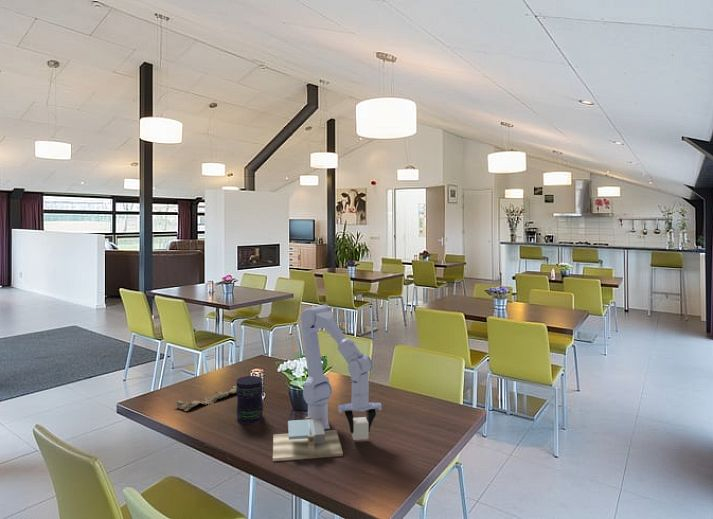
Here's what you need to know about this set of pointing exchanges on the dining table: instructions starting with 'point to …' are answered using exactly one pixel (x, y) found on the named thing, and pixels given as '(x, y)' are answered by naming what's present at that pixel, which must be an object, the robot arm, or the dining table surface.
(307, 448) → the beige slab
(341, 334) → the robot arm
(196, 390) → the dining table surface
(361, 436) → the limestone block
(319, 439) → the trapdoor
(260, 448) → the dining table surface
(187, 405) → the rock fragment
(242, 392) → the storage jar
